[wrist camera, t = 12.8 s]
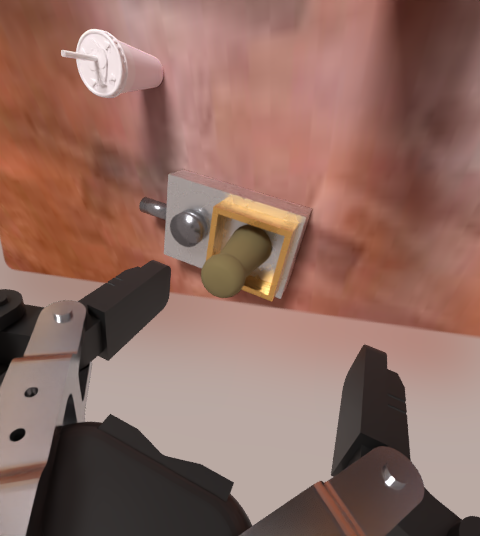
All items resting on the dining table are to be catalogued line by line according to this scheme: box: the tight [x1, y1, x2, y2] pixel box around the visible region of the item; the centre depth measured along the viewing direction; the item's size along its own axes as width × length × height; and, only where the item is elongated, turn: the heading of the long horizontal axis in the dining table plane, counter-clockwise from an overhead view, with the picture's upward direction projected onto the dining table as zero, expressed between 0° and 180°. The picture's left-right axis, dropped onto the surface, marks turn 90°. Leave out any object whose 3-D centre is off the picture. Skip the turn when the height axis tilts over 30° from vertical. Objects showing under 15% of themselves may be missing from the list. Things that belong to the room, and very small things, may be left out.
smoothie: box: [61, 29, 163, 98], centre depth 36 cm, size 6×6×14 cm
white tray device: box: [140, 169, 312, 301], centre depth 45 cm, size 13×25×7 cm, turn 78°
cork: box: [201, 225, 272, 298], centre depth 39 cm, size 6×6×11 cm
